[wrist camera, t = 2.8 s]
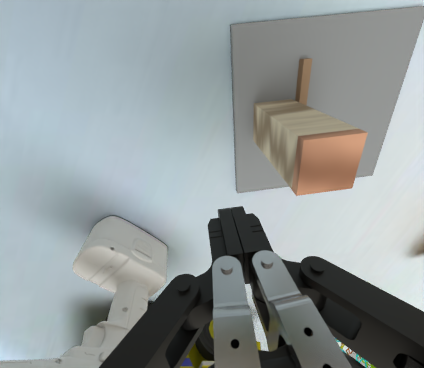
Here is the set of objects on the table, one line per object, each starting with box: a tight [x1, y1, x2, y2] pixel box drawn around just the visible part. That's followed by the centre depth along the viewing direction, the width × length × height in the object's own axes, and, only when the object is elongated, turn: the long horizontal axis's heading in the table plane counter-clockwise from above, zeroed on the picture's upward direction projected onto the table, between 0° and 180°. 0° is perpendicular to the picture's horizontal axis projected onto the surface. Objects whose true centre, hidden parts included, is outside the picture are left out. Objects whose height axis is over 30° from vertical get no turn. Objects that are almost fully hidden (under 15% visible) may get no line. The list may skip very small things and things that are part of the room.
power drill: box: [0, 216, 168, 368], centre depth 28 cm, size 8×24×25 cm, turn 44°
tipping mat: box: [230, 6, 424, 193], centre depth 30 cm, size 22×22×2 cm
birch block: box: [253, 99, 368, 196], centre depth 24 cm, size 5×5×14 cm
